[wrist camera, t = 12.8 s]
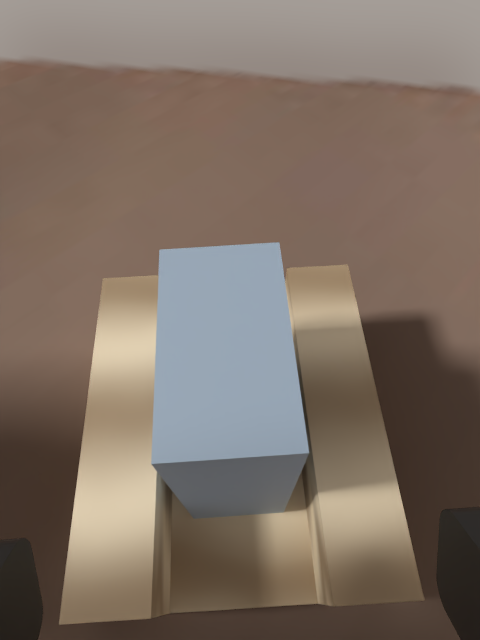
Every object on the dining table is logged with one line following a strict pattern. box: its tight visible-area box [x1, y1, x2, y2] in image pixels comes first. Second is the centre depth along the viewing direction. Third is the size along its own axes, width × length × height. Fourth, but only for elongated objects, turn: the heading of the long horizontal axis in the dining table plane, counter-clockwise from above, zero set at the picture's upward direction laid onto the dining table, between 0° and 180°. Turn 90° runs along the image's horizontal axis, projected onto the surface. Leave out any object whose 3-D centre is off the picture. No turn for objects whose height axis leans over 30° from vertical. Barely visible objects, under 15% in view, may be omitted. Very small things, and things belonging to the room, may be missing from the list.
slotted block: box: [59, 265, 425, 625], centre depth 21 cm, size 14×13×6 cm
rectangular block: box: [151, 242, 309, 519], centre depth 17 cm, size 7×4×10 cm, turn 4°
